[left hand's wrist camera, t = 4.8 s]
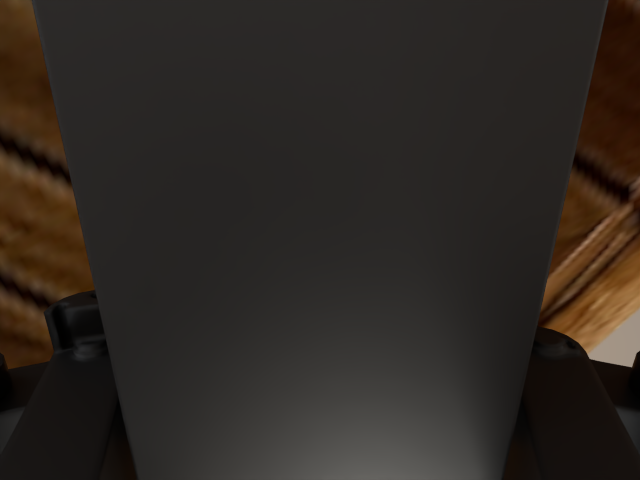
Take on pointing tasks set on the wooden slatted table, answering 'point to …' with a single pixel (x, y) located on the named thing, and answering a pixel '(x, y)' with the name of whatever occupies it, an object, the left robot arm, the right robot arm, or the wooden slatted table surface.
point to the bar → (320, 222)
